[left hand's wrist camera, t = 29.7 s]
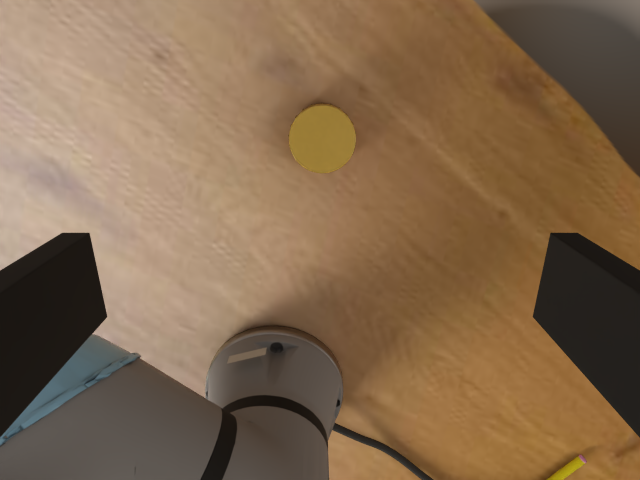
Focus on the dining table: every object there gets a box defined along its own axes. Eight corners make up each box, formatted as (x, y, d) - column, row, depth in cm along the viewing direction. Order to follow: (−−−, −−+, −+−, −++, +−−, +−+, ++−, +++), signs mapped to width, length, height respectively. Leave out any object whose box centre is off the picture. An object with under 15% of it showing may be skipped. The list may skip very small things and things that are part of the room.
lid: (326, 181, 40) (327, 187, 38) (276, 141, 38) (274, 145, 36) (368, 132, 38) (370, 135, 36) (317, 88, 37) (317, 89, 35)
